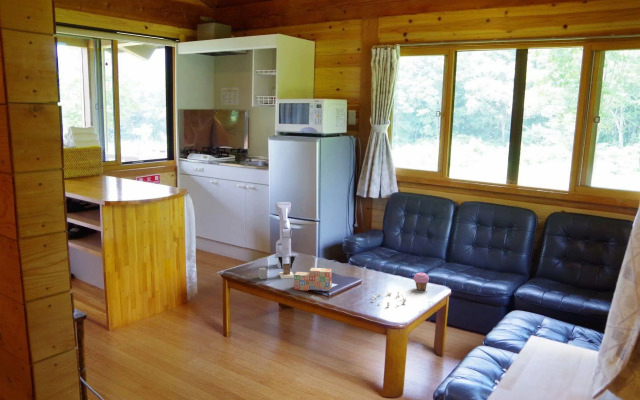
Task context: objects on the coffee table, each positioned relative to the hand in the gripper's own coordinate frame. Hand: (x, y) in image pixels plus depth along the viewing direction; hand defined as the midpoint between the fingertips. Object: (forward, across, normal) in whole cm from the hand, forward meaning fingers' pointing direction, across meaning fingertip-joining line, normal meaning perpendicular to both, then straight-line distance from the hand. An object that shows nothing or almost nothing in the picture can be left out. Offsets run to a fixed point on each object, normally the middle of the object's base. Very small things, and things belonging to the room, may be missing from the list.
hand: (286, 268), depth 334 cm
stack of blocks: (+6, +13, -27) cm, 30 cm away
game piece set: (+6, +52, -52) cm, 74 cm away
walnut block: (+3, 0, 0) cm, 3 cm away
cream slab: (+6, 0, 0) cm, 6 cm away
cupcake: (+5, +76, -36) cm, 84 cm away
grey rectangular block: (+5, -15, -1) cm, 16 cm away
